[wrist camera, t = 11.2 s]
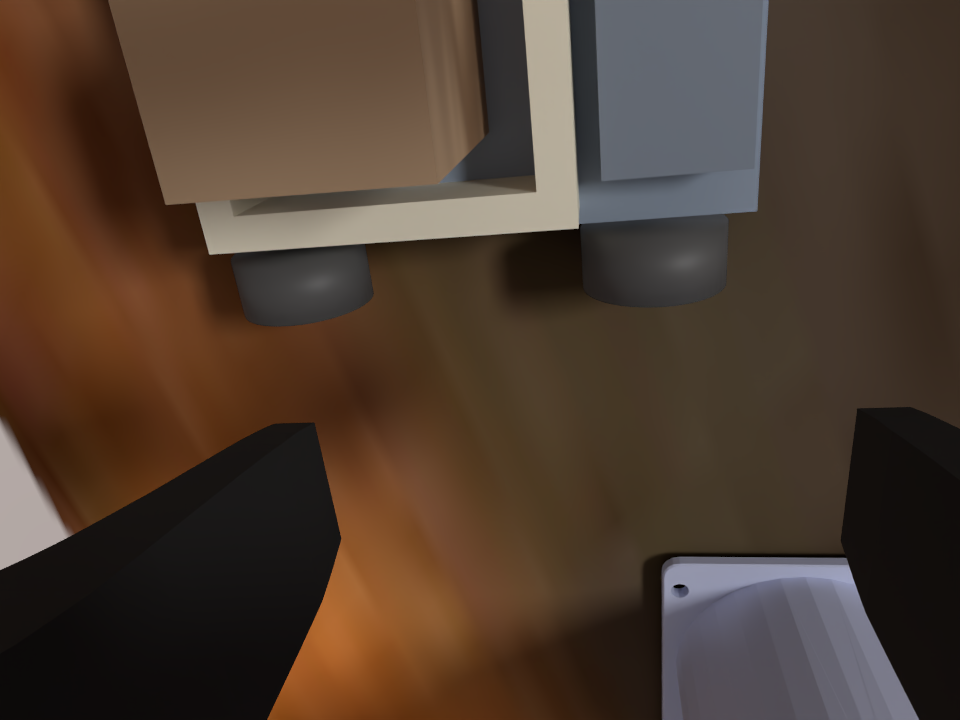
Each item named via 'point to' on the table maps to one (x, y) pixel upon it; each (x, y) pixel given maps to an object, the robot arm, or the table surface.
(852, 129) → the table surface
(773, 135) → the table surface
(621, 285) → the toy truck
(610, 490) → the table surface
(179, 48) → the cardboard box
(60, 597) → the robot arm
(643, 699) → the table surface
